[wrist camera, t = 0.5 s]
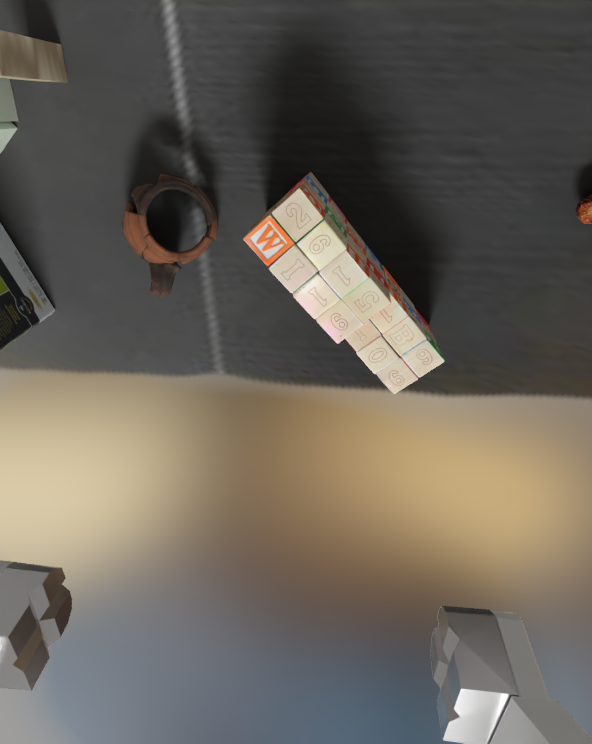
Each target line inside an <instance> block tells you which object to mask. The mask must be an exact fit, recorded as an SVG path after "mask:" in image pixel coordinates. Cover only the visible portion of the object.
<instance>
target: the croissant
mask: <svg viewBox="0 0 592 744" xmlns="http://www.w3.org/2000/svg"><path fill="white" fill-rule="evenodd" d="M576 212H577V213H578V215H577V217H578V219H580V220H581V222H582V223H585V224H592V194H591V195H589V196H588V197H586V198H584V199H582V200H581V201H580V202H579V203H578V205H577V207H576Z"/></svg>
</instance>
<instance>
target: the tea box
mask: <svg viewBox="0 0 592 744" xmlns="http://www.w3.org/2000/svg"><path fill="white" fill-rule="evenodd" d="M54 311H55V309H54V307H53V306H52V304H51V303H50V301H49V300H48V298H47V296H46V295H45V293H44V292H43V290H42V288H41V287H40V285H39V284H38V282H37V280H36V279H35V277H34V276H33V274H32V272H31V271H30V269H29V268H28V266H27V264H26V263H25V261H24V260H23V258H22V256H21V255H20V253H19V252H18V250H17V248H16V247H15V245H14V244H13V242H12V240H11V239H10V237H9V236H8V234H7V232H6V231H5V229H4V228H3V226H2V224H1V223H0V351H1V350H2V349H3V348H5V347H6V346H8V345H9V344H11V343H12V342H13V341H15V340H16V339H18V338H19V337H20V336H22V335H23V334H25V333H26V332H28V331H29V330H30V329H32V328H33V327H35V326H36V325H37V324H39V323H40V322H41V321H43V320H44V319H45V318H47V317H48V316H49V315H51V314H52V313H53V312H54Z"/></svg>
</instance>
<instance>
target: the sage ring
mask: <svg viewBox="0 0 592 744" xmlns="http://www.w3.org/2000/svg"><path fill="white" fill-rule="evenodd" d="M11 121H18V116H17V111H16V107H15V102H14V97H13V93H12V88H11V83H10V79H9V78H0V154H1V152H2V151H3V149H4V148H5V146H6V145H7V143H8V142H9V140H10V139H11V137H12V136H13V134H14V133H15V131H16V130H17V127H16V126H15V125H14V124H13V123H12V122H11Z"/></svg>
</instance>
